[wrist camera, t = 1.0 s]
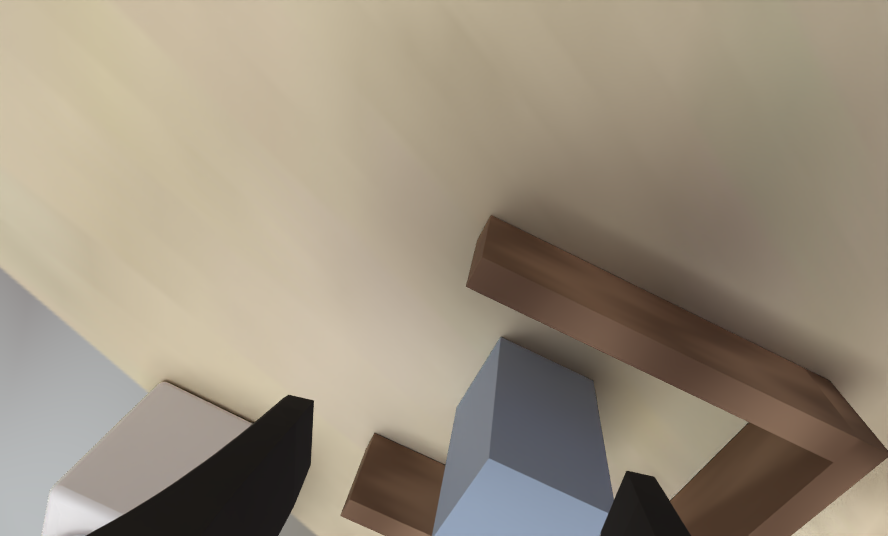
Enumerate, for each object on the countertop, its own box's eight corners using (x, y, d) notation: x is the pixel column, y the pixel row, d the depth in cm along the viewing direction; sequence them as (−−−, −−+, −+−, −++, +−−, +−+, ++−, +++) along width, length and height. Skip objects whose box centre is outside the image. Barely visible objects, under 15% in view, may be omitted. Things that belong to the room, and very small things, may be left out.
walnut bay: (829, 380, 21) (891, 454, 17) (631, 569, 27) (646, 652, 24) (490, 215, 20) (482, 256, 17) (366, 448, 26) (340, 515, 23)
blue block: (593, 380, 23) (616, 517, 16) (542, 447, 25) (545, 591, 18) (500, 336, 22) (488, 458, 16) (456, 407, 24) (431, 540, 18)
